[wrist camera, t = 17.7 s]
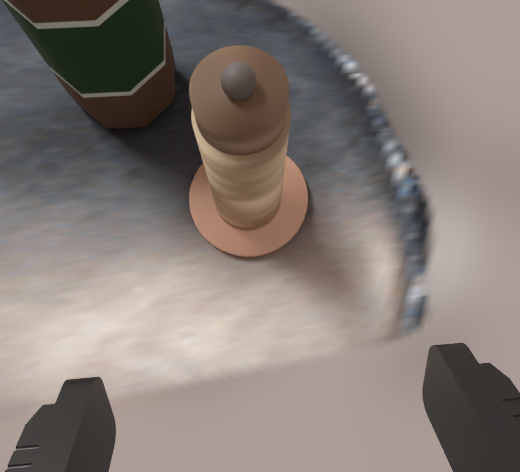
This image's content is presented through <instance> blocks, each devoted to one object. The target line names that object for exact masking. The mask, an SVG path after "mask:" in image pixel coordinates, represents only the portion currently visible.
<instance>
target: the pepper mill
mask: <svg viewBox="0 0 520 472" xmlns="http://www.w3.org/2000/svg"><path fill="white" fill-rule="evenodd" d="M288 95H289V83H288V79H287V75H286V73H285V71H284V69H283V67H282V66H281V65H280V63H279V62H278V61H277V60H276V59H275V58H274V57H273V56H271V55H270V54H268V53H267V52H265V51H263V50H261V49H258V48H255V47H251V46H243V45H237V46H229V47H224V48H221V49H219V50H216V51H214V52H212V53H211V54H209V55H208V56H206V57H205V58H204V59H203V60H202V61H201V62H200V63H199V64H198V65H197V67H196V68H195V70H194V72H193V74H192V76H191V79H190V84H189V96H190V101H191V105H192V112H191V120H192V126H193V129H194V133H195V136H196V140H197V143H198V147H199V150H200V153H201V157H202V160H203V164H204V167H205V171H206V174H207V178H208V181H209V185H210V188H211V191H212V195H213V198H214V202H215V205H216V209H217V211H218V213H219V215H220V217H221V218H222V219H223V220H224V222H226V223H227V224H228V225H230V226H231V227H233V228H236V229H239V230H245V231H251V230H257V229H260V228H262V227H264V226H266V225H267V224H269V223H270V222H271V221H272V220H273V219H274V218H275V216H276V215H277V213H278V211H279V208H280V203H281V195H282V186H283V178H284V170H285V162H286V153H287V145H288V137H289V128H290V120H291V110H290V105H289V101H288Z"/></svg>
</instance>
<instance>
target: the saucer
mask: <svg viewBox="0 0 520 472" xmlns="http://www.w3.org/2000/svg"><path fill="white" fill-rule="evenodd" d="M189 206H190V212H191V215H192V218H193V220H194V223H195V225H196V227H197V229H198V230H199V232H200V233H201V235H202V236H203V237H204V238H205V239H206V240H207V241H208V242H209V243H210V244H211V245H213V246H214V247H216V248H217V249H219V250H221V251H223V252H225V253H228V254H231V255H235V256H240V257H257V256H262V255H266V254H269V253H272V252H274V251H276V250H278V249H280V248H281V247H283V246H284V245H286V244H287V243H288V242H289V241H290V240H291V239H292V238H293V237H294V236H295V235H296V233H297V232H298V230H299V229H300V227H301V225H302V223H303V221H304V218H305V215H306V211H307V206H308V191H307V186H306V183H305V180H304V177H303V175H302V173H301V171H300V170H299V168H298V167H297V166H296V164H295V163H294V162H293V161H292V160H291V159H290V158H289V157H288V156H286V162H285V170H284V178H283V186H282V195H281V203H280V208H279V211H278V213H277V215H276V216H275V218H274V219H273V220H272V221H271V222H270V223H269V224H267V225H266V226H264V227H262V228H260V229H257V230H251V231H245V230H239V229H236V228H233V227H231V226H230V225H228V224H227V223H226V222H224V220H223V219H222V218H221V217H220V215H219V213H218V211H217V209H216V205H215V202H214V198H213V195H212V191H211V188H210V185H209V181H208V178H207V174H206V171H205V167H204V164H202V165H201V166H200V168H199V169H198V171H197V172H196V174H195V176H194V178H193V181H192V184H191V187H190V193H189Z"/></svg>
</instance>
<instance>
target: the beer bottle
mask: <svg viewBox="0 0 520 472" xmlns="http://www.w3.org/2000/svg"><path fill="white" fill-rule="evenodd" d="M2 1H3V2H4V4H5V5H6V7H7V8H8V9H9V11H10V12H11V14H12V15H13V16H14V18H15V19H16V21H17V22H18V23H19V25H20V26H21V28H22V29H23V30H24V32H25V33H26V35H27V36H28V37H29V39H30V40H31V42H32V43H33V45H34V46H35V47H36V49H37V50H38V52H39V53H40V54H41V56H42V57H43V59H44V60H45V61H46V63H47V64H48V66H49V67H50V68H51V70H52V71H53V73H54V74H55V76H56V77H57V78H58V80H59V81H60V83H61V84H62V85H63V87H64V88H65V90H66V91H67V92H68V93H69V95H70V96H71V97H72V98H73V99H74V100H75V102H76V103H77V104H78V105H79V106H80V107H81V108H83V109H84V110H85V111H86V112H87V113H88V114H89V115H91V116H92V117H93V118H94V119H95V120H96V121H97V122H99V123H100V124H101V125H102V126H103V127H104V128H105V129H117V128H136V127H147V126H148V125H149V124H150V123H152V122H153V121H154V120H155V119H156V118H157V117H158V116H159V115H160V114H161V113H162V112H163V111H164V110H165V109H166V108H167V107H169V106H170V105H171V104H172V103H173V102H174V100H175V62H174V57H173V52H172V47H171V44H170V40H169V37H168V33H167V29H166V26H165V22H164V19H163V15H162V12H161V8H160V4H159V1H158V0H2Z"/></svg>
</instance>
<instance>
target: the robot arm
mask: <svg viewBox="0 0 520 472" xmlns="http://www.w3.org/2000/svg"><path fill="white" fill-rule="evenodd" d="M423 402H424V406H425V410H426V413H427V415H428V417H429V420H430V422H431V424H432V426H433V428H434V431H435V433H436V435H437V437H438V439H439V442H440V444H441V446H442V448H443V450H444V453H445V455H446V457H447V459H448V461H449V464H450V466H451V468H452V470H453V472H520V393H519V391H518V390H517V388H516V387H515V386H514V384H513V383H512V381H511V380H510V378H508V377H507V376H506V375H504V374H503V373H502V372H501V371H499V370H498V369H497V368H495V367H494V366H493V365H492V364H490V363H482V364H479V363H478V362H477V360H476V359H475V357H474V356H473V354H472V352H471V351H470V349H469V348H468V347H467V346H466V345H465V344H464V343H455V344H444V345H433V346H431V347H430V349H429V353H428V359H427V366H426V371H425V378H424V383H423ZM115 437H116V426H115V419H114V415H113V413H112V409H111V406H110V403H109V400H108V397H107V394H106V390H105V387H104V384H103V381H102V379H101V378H100V377H92V378H81V379H70V380H66V381H65V382H64V384H63V386H62V388H61V391H60V393H59V396H58V398H57V401H56V403H55V404H49V405H43V406H42V407H41V408H40V409H39V410H38V411H37V412H36V414H35V415H34V416H33V417H32V418H31V419H30V420H29V422H28V423H27V424H26V425H25V427H24V430H23V432H22V434H21V437H20V439H19V441H18V443H17V446H16V451H14V452H13V455H12V457H11V459H10V461H9V464H8V469H7V470H5V472H108V471H109V467H110V462H111V458H112V454H113V450H114V445H115Z"/></svg>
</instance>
